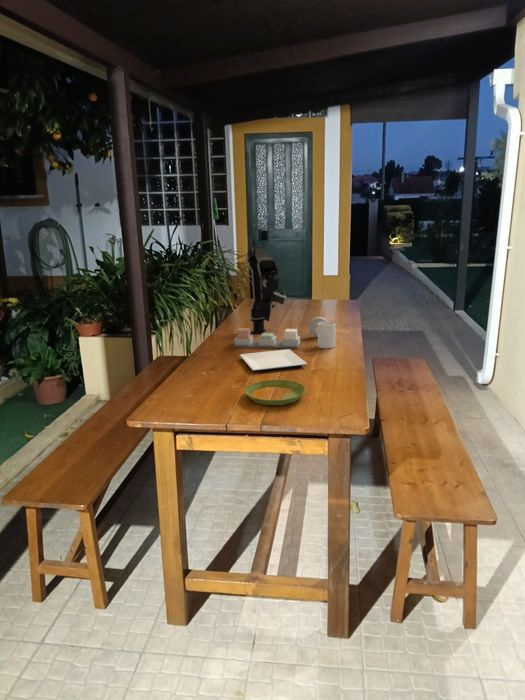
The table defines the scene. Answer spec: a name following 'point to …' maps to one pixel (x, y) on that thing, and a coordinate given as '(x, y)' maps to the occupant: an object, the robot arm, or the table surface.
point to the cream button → (291, 334)
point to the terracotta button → (243, 333)
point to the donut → (313, 325)
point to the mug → (326, 334)
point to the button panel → (267, 343)
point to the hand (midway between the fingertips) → (268, 321)
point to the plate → (272, 359)
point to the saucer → (287, 398)
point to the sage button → (267, 335)
